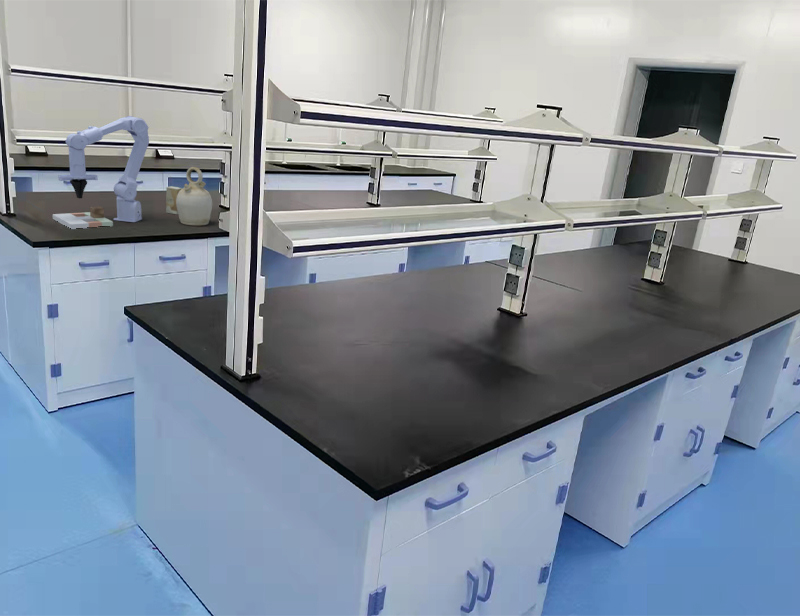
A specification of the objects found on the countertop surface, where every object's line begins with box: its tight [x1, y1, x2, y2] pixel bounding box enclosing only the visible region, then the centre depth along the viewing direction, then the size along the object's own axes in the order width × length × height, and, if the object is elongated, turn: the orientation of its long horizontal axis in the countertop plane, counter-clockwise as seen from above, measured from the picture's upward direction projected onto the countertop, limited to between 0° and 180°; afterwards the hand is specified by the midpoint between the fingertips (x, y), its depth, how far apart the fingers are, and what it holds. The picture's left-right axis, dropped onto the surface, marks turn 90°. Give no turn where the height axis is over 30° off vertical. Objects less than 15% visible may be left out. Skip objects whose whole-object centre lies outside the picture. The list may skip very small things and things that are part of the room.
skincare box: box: [165, 185, 184, 215], centre depth 297 cm, size 6×4×12 cm
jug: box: [176, 166, 213, 226], centre depth 280 cm, size 15×16×25 cm
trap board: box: [52, 211, 114, 230], centre depth 263 cm, size 16×20×2 cm
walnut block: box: [89, 206, 105, 218], centre depth 266 cm, size 4×4×4 cm
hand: (79, 197), depth 259 cm, fingers closed
